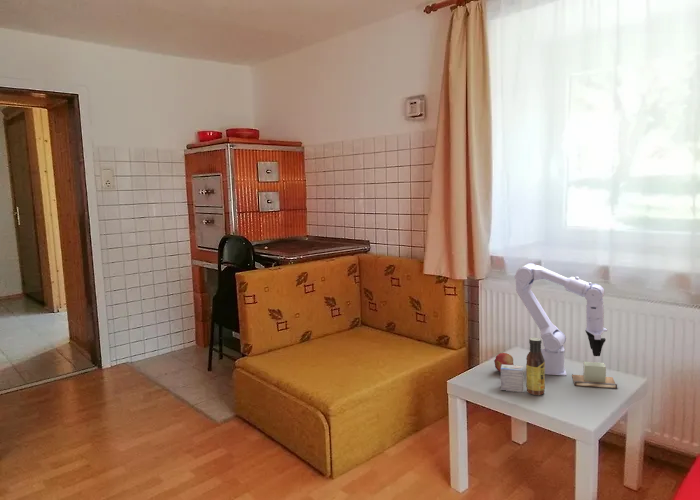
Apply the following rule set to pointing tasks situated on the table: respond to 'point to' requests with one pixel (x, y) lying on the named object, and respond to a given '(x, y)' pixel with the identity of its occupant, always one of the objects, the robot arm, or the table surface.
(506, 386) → the medicine box
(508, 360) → the fruit
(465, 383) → the table surface
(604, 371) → the carton
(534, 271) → the robot arm
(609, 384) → the brown book
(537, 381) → the sauce bottle
